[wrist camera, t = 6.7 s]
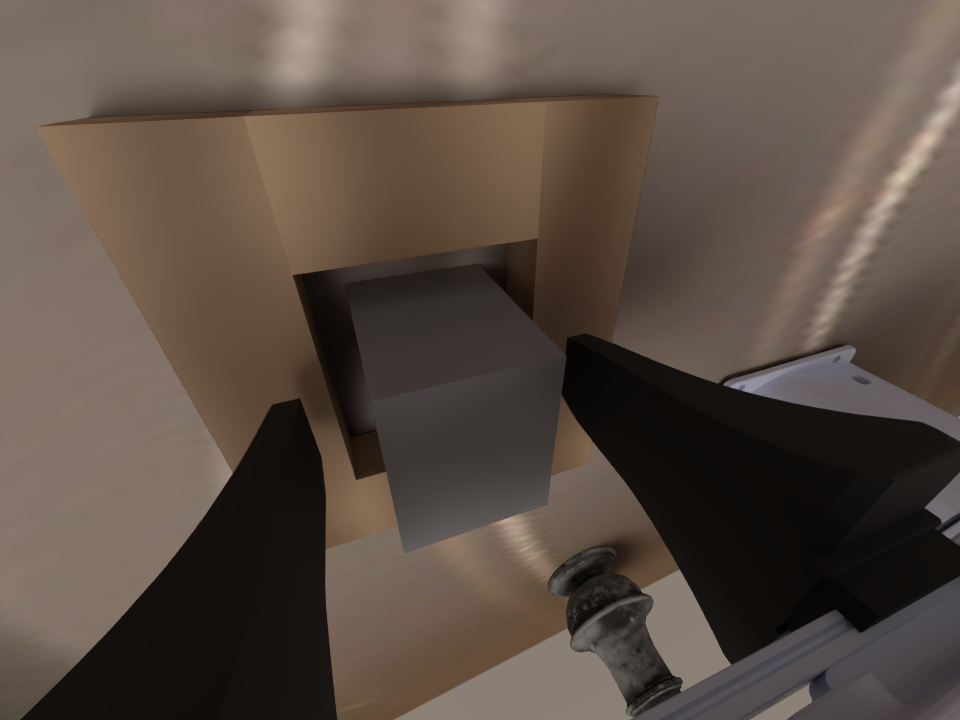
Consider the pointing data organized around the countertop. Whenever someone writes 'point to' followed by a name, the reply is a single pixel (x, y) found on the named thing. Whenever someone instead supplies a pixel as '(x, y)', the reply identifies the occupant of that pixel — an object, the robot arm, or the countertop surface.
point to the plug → (457, 399)
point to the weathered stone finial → (614, 627)
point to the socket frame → (352, 240)
